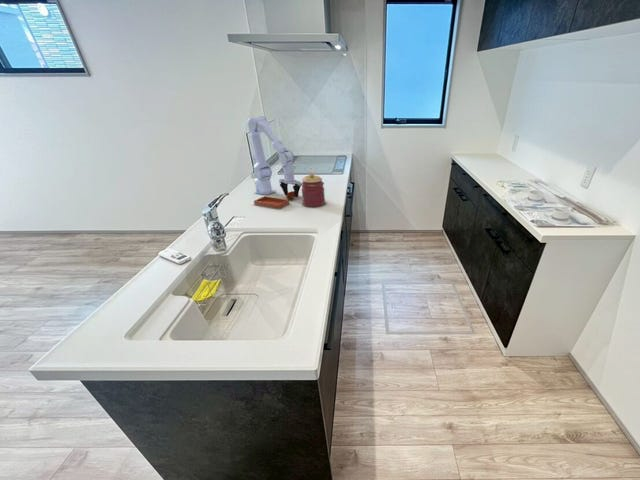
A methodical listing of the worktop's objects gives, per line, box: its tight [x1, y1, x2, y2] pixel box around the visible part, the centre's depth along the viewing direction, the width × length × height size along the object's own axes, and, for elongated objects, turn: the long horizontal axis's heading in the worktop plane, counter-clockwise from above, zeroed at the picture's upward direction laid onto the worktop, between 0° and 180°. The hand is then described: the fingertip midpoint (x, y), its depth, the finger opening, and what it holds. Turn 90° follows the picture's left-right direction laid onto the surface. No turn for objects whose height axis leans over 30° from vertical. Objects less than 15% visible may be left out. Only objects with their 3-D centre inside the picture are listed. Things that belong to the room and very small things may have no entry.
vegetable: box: [286, 190, 295, 201], centre depth 191 cm, size 4×5×12 cm
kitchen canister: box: [301, 172, 326, 208], centre depth 179 cm, size 13×13×18 cm
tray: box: [253, 195, 290, 210], centre depth 182 cm, size 18×10×2 cm, turn 66°
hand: (291, 195), depth 191 cm, fingers open, 7 cm apart
